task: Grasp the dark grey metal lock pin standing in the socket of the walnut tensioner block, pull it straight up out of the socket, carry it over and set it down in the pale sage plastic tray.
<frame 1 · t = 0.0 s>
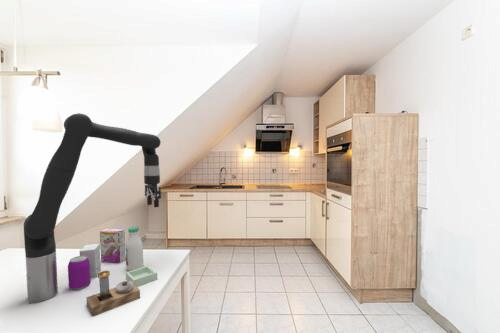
hand: (153, 205, 130), 29 cm above the table, fingers open, 8 cm apart
tray: (141, 279, 113), on the table
tensioner block: (114, 301, 96), on the table
small box: (91, 274, 119), on the table
lock pin: (105, 304, 94), resting in tensioner block
milk bottle: (134, 268, 124), on the table
candy bar box: (113, 261, 133), on the table
beverage can: (79, 286, 108), on the table
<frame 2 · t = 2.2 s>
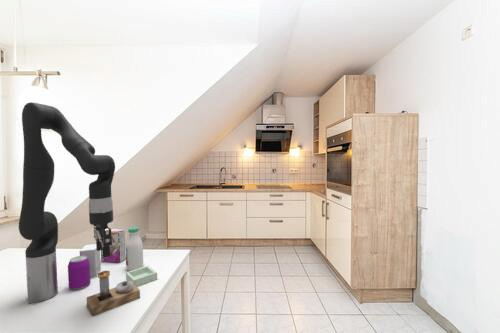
hand: (103, 253, 93), 19 cm above the table, fingers open, 8 cm apart
nothing on the table moved.
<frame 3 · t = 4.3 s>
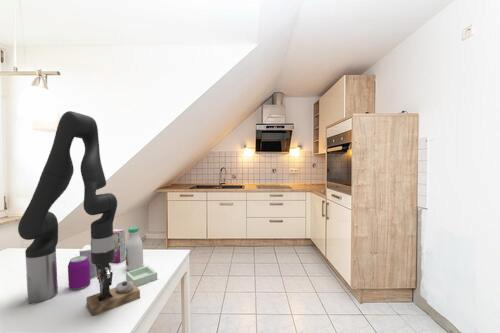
hand: (104, 293, 94), 4 cm above the table, fingers closed on lock pin, 3 cm apart
lock pin: (105, 304, 94), resting in tensioner block, touching gripper
everything else where it was.
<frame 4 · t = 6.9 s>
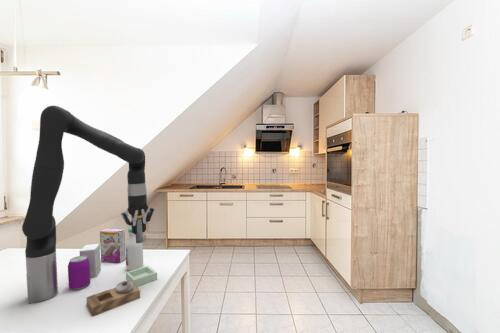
hand: (139, 232, 111), 21 cm above the table, fingers closed on lock pin, 3 cm apart
lock pin: (139, 242, 111), point 17 cm above the table, touching gripper
everything else where it was.
when the fingers open (7 cm above the table, at t = 9.6 s): lock pin drops 2 cm, resting on tray.
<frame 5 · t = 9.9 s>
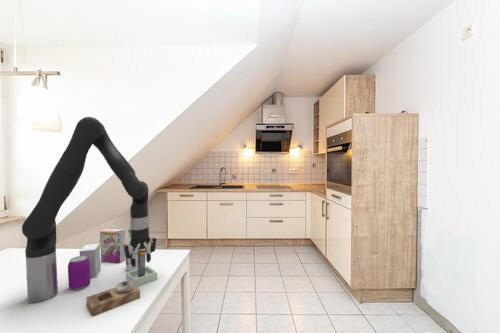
hand: (141, 263, 113), 7 cm above the table, fingers open, 5 cm apart
lock pin: (141, 277, 113), point 1 cm above the table, touching tray
everything else where it was.
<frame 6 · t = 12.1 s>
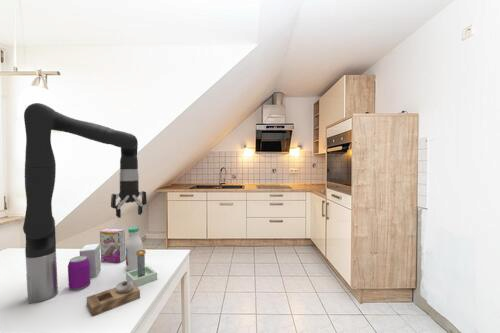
hand: (129, 216, 112), 29 cm above the table, fingers open, 8 cm apart
nothing on the table moved.
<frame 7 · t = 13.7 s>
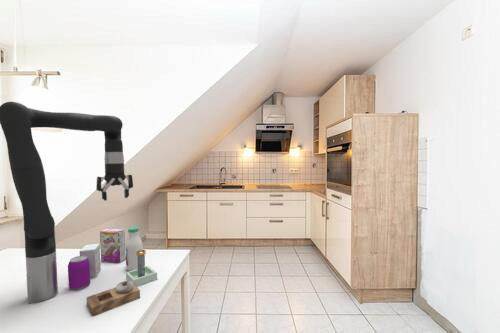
hand: (115, 199, 112), 36 cm above the table, fingers open, 8 cm apart
nothing on the table moved.
at the end: lock pin inside the target area on the tray (0.1 cm from its centre), point 0.7 cm above the tray's base; lock pin touching tray; the gripper is holding nothing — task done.
